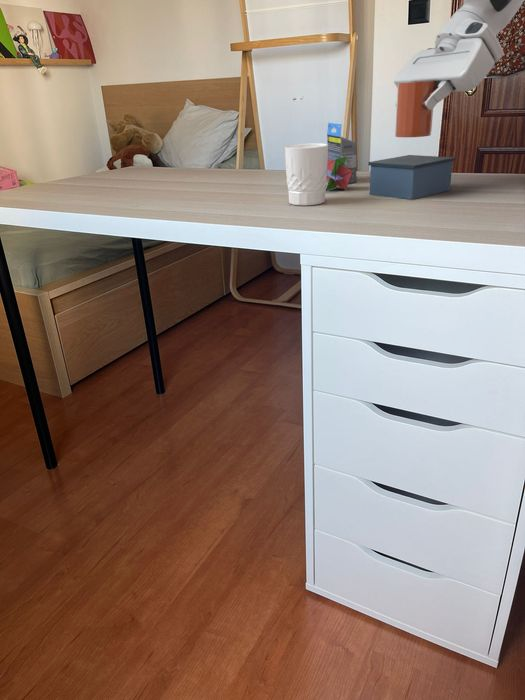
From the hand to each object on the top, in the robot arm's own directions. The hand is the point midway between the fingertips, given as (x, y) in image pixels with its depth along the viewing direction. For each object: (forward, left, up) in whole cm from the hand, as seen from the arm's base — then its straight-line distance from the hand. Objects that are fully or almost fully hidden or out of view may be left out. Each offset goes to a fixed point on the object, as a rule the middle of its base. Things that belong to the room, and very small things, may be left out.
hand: (412, 107), depth 96 cm
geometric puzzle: (+6, -14, -15) cm, 21 cm away
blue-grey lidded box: (0, 0, -15) cm, 15 cm away
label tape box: (-3, -21, -15) cm, 26 cm away
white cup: (+19, -9, -15) cm, 26 cm away
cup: (-1, 0, -5) cm, 5 cm away
